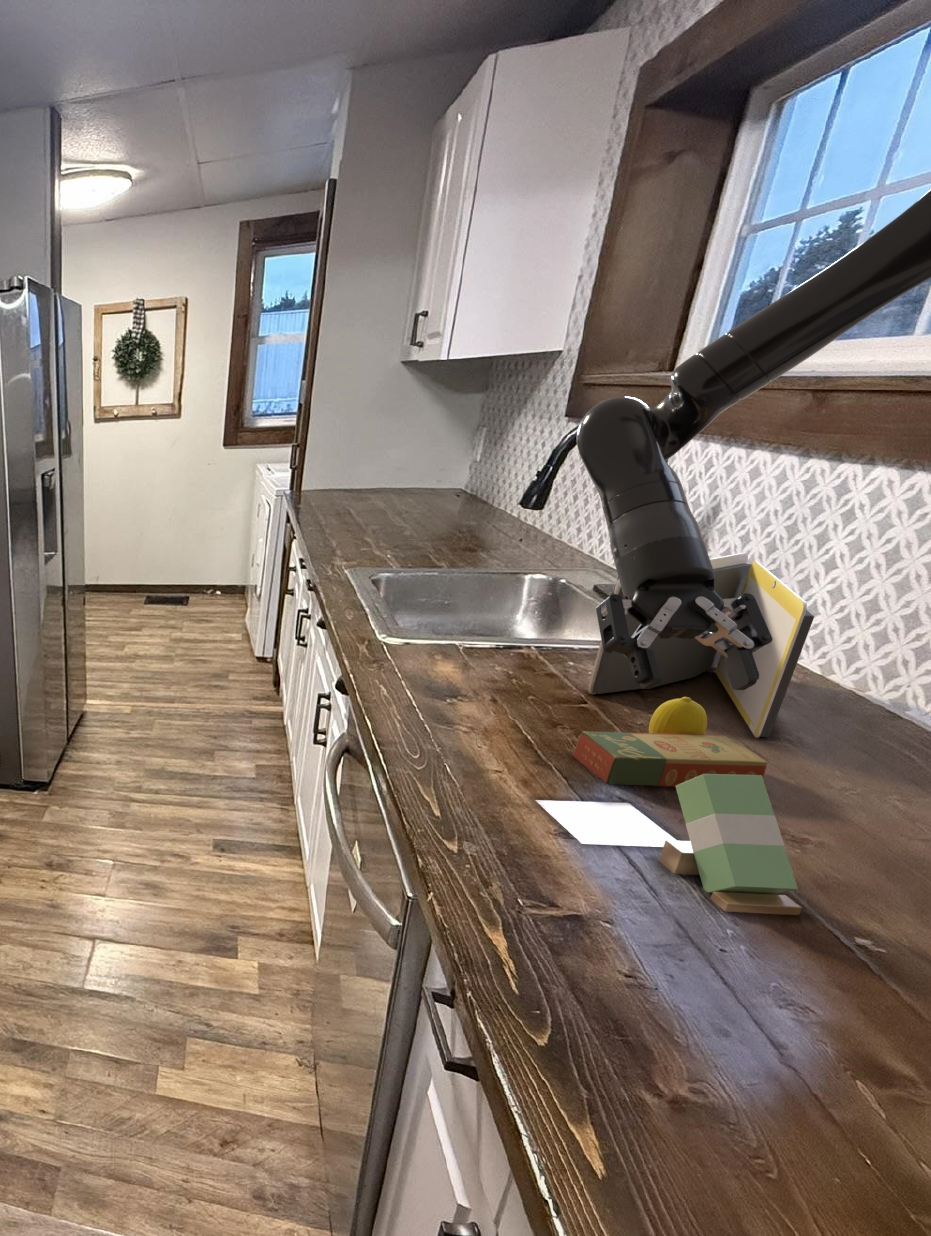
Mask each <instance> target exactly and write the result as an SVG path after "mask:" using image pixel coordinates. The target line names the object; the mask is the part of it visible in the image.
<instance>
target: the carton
mask: <svg viewBox="0 0 931 1236" xmlns="http://www.w3.org/2000/svg"><path fill="white" fill-rule="evenodd" d="M572 757H573V758H575V759H576V760H577V761H578V762H579V763H581V765H583V766H584V767H585V768H587V769H588V770H589V771H591V772H592V774H594V775H595V776H596V777H598V778H599V779H601V781H602V782H604V783H605V784H608V785H629V786H630V785H633V786H650V787H651V786H654V787H655V786H656V787H674V788H676V785H679V784H681V783H683V782H686V781H688V780H690V779H693V778H695V777H697V776H700V775H702V774H730V775H762V777H763V778H764V777H765V773H766V770H767V766H768V761H766V760H765V759H764V758H762V757H761V756H758V755H757V754H756V753H754V752H752V751H751V750H749V749H748V748H747V747H744V746H742V745H741V744H739V743H737V742H735V741H734V740H732V739H730V738H728V737H727V736H725V735H723V734H708V733H707V734H706V733H705V734H661V733H649V732H621V731H589V730H588V731H587V730H584V731H581V733H580V734H579V737H578V738H577V743H576V745H575V747H574V751H573V755H572Z"/></svg>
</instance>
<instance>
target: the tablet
mask: <svg viewBox="0 0 931 1236" xmlns="http://www.w3.org/2000/svg"><path fill="white" fill-rule="evenodd" d="M709 559H710V562H711V565H712V568H713V571H714V574H715V581H714V590H715V592H716V593H717V594H718V595H719V596H720V597H721V598H722V599H731V598H738V597H740V596H741V595H743V594H745V593H749V594H752V595H753V596H754V597H755V599H756V601H757V604H758V606H759V608H760V611H761V613H762V615H763V618H764V620H765V622H766V625H767V627H768V629H769V632H770V634H771V636H772V642H770V643H769V644H767V645H765V646H763V647H761V648H760V649H758V650H756V651H755V652H753V653H752V654H753V657H754V660H755V663H756V666H757V670H758V672H759V679H758V680H757V681H756V683H755V684H754V685H753V686H751V687H749V688H747V689H745V690H734V689H733V688H732V685H731V682H730V679H729V676H728V673H727V670H726V667H725V663H724V659H725V658H726V657H725V656H723V655H722V654H721V653H720V652H718V651H717V650H716V649H714V648H713V647H712V646H705V645H703V644H702V643H700V642H699V641H698V640H697V639H695V638H693V639H683V638H678V637H674V638H669V639H660V638H659V636H656V638H655V639H654V641H653V642H652V644H651V645H650V646H649V647H648V649H653V650H654V654H655V657H656V661H657V664H658V668H659V671H660V675H661V682H660V683H659V684H657V685H656V686H654V687H653V688H657V687H660V686H664V685H668V684H672V683H676V682H681V681H684V680H689V679H693V678H695V677H698V676H699V675H701V674H704V673H705V672H707V671H709V670H711V669H713V668H715V667H716V668H715V675H716V676H717V678H718V679H719V681H720V682H721V685H722V686H723V687H724V689H725V691H726V693H727V694H728V695H729V697H730V700H732V702H733V704H734V706H735V707H736V709H737V710H738V712H739V714H740V715H741V717H742V719H743V720H744V722H745V723H746V725H747V726H748V728H749V730H750V732H751V733H752V735H753V736H754V738H757V739H759V738H760V737H761V738H770V736H771V734H772V731H773V728H774V726H775V723H776V721H777V718H778V716H779V713H780V710H781V707H782V704H783V702H784V699H785V696H786V694H787V691H788V688H789V686H790V683H791V680H792V678H793V675H794V672H795V669H796V667H797V664H798V662H799V659H800V656H801V654H802V652H803V648H804V646H805V644H806V641H807V637H808V635H809V632H810V629H811V627H812V624H813V622H814V619H815V616H814V615H813V614H812V613H811V612H810V611H809V610H807V608H808V606H807V605H808V604H807V601H806V600H805V599H804V598H802V597H801V596H800V595H799V594H798V593H796V592H795V591H794V590H793V589H791V587H789V586H788V585H787V584H786V583H784V582H783V580H781V579H779V578H778V577H777V576H776V575H775V574H773V573H772V571H770V570H769V569H767V567H765V566H764V565H763V564H761V563H760V562H759V561H757V560H753V561H752V562H751V563H748V560H749V555H748V554H747V553H746V552H741V553H740V552H739V553H735V554H730V555H723V556H718V557H713V558H712V557H711V558H709ZM613 594H618V595H620V596H621V597H622V599H625V598H624V595H623V592H622V588H621V584H620V581H619V578H618V579H617V581H616V584H615V588H614V591H613ZM722 613H723V612H722ZM723 614H724V613H723ZM724 615H725V614H724ZM625 616H626V622H627V627H628V632H629V637H630V638H631V637H632V635H633V634H634V632H635V631H636V630H637V628H638V627H639V625H640V623H639V622H637V621H636V620H635V619H634V618H633V617H631V616H630V615H629V614H628V613H627V614H626V615H625ZM707 631H709V632H711V633H714V632H716V631H718V627H717V626H716V625H714V624H712V626H711V627H710V628H709V629H708V630H707ZM751 633H752V631H751ZM752 636H753V633H752ZM753 637H754V636H753ZM723 639H725V640H726V641H727V642H729V643H730V644H731V645H733V643H732V642H731V641H729V640H728V639H727V638H725V637H723ZM589 679H590V680H589V684H588V686H587V692H588V694H589V695H596V694H599V695H600V694H609V693H617V692H626V691H632V690H633V691H635V690H643V689H642V688H640V685H639V683H636V682H635V681H634V679H633V676H632V672H631V669H630V665H629V661H628V658H627V657H625V656H624V655H623V654H622V653H618V652H613V653H608V652H606V651H604V649H603V645H602V640H601V639H600V643H599V645H598V650H597V653H596V657H595V661H594V664H593V669H592V671H591V675H590V678H589Z"/></svg>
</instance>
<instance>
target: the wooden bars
mask: <svg viewBox="0 0 931 1236" xmlns="http://www.w3.org/2000/svg"><path fill="white" fill-rule="evenodd" d="M658 862H659V863H660V864H662V865H663V866H664V867H665V868H666V869H668V870H669V871H670V872H671V873H672V874H674V875H688V876H691V875H692V876H700V874H699V870H698V867H697V863H696V859H695V856H694V853H693V849H692V846H691V842H690V840H677V839H676V840H666V841H665V843H664V846H663V848H662V850H661V852H660V855H659V858H658ZM709 899H710V900H711V901H712V902H713V903H714V904H716V906H718V907H719V908H720V909H722V910H723V911H724V912H728V913H729V912H731V913H746V914H747V913H749V914H767V915H768V914H769V915H786V916H787V915H789V916H800V914H801V912H802V909H803V907H802V906H801V905H800V904H798V903H797V902H796V901H795V900H794V899H791V898H790V897H789V896H787V895H785V894H752V893H731V892H713V893H711V896H710V898H709Z"/></svg>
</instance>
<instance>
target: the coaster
mask: <svg viewBox="0 0 931 1236" xmlns="http://www.w3.org/2000/svg"><path fill="white" fill-rule="evenodd" d="M534 801H535V803H537V804H538V805H539V806H540V807H541V808H543V810H545V812H546V813H548V814H549V816H551V817H552V818H553V819H554V820H555V821H556V822H557V823H559V824H560V825H561V826H562V827H563V828H564V829H565V830H566V831H567V832H568V833H569V834H570V835H571V836H572V837H574V839H575V840H577V841H578V843H580V844H581V845H586V846H587V845H588V846H608V847H609V846H610V847H611V846H612V847H613V846H615V847H639V848H662V849H663V846H664V843H665V841H666V840H677V839H676V838H675V837H674V836H672V835H671V834H669V833H668V832H667V831H665V830H664V829H663V828H662V827H660V826H659V825H658V824H656V823H655V822H654V821H652V819H650V818H649V817H647V815H645V814H643V813H642V812H641V811H640V810H638V809H637V808H636V807H634V806H633V805H632V804H631V803H629V802H614V801H613V802H609V801H608V802H607V801H581V800H580V801H577V800H547V799H544V800H543V799H540V800H539V799H535V800H534Z"/></svg>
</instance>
